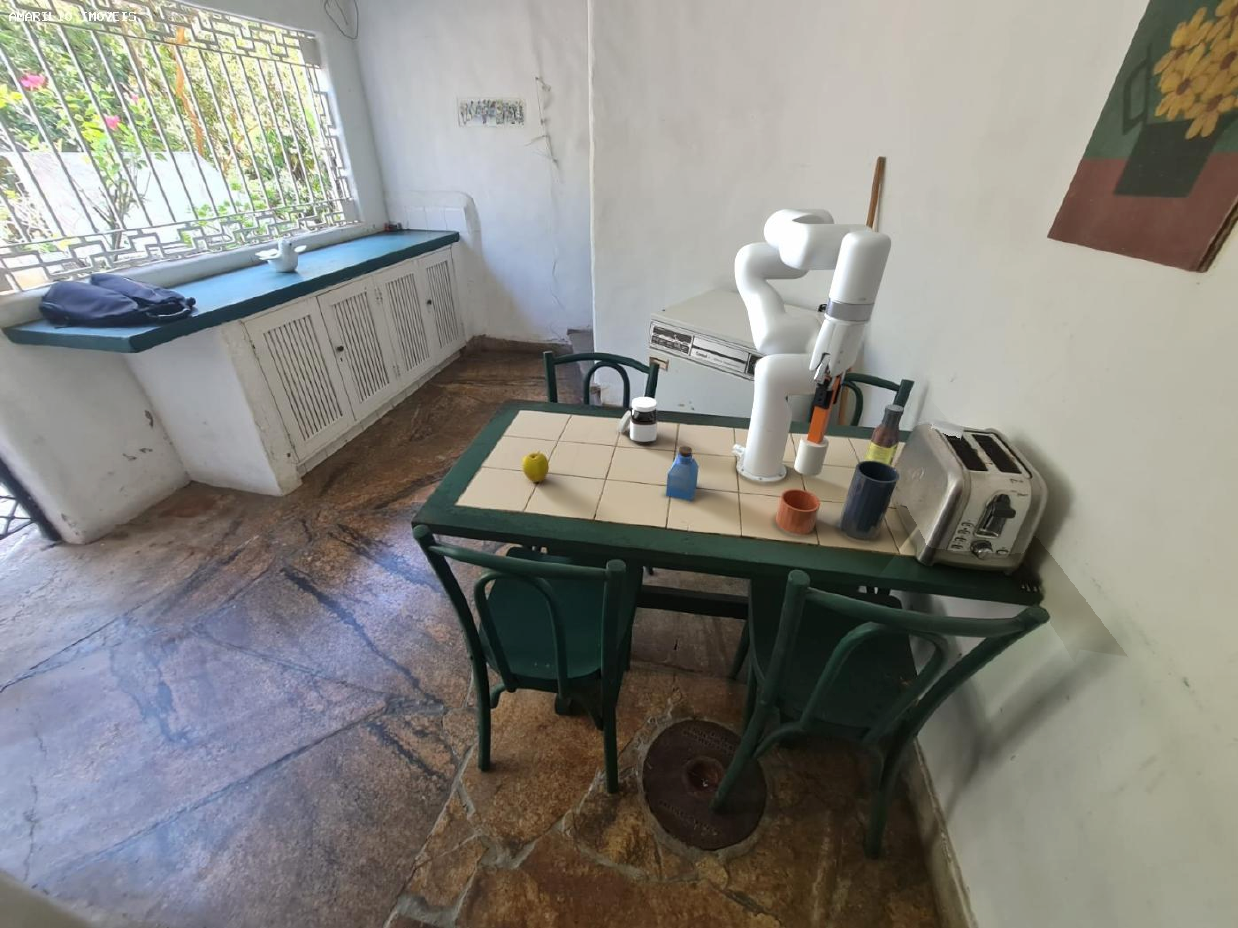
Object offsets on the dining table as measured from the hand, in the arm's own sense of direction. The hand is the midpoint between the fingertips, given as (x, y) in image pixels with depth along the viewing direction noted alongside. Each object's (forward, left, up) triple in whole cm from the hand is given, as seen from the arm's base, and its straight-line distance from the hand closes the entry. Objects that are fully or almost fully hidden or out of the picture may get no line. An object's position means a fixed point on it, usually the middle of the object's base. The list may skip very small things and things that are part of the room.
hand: (824, 403), depth 99 cm
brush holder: (0, 0, -30) cm, 30 cm away
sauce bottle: (+5, +32, -30) cm, 44 cm away
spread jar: (-52, +4, -30) cm, 60 cm away
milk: (+17, +28, -30) cm, 45 cm away
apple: (-55, -30, -30) cm, 69 cm away
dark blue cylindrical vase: (+11, +8, -30) cm, 33 cm away
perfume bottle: (-26, -8, -30) cm, 41 cm away
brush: (0, 0, -15) cm, 15 cm away
